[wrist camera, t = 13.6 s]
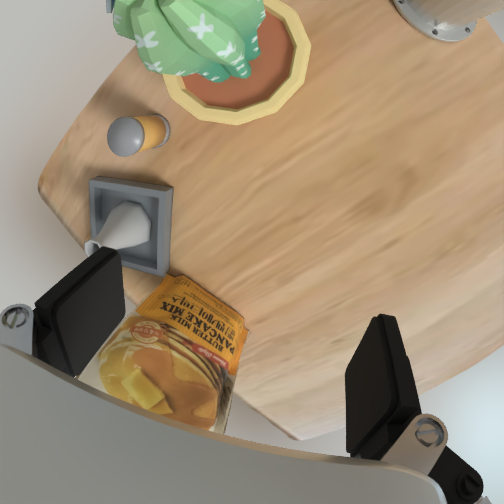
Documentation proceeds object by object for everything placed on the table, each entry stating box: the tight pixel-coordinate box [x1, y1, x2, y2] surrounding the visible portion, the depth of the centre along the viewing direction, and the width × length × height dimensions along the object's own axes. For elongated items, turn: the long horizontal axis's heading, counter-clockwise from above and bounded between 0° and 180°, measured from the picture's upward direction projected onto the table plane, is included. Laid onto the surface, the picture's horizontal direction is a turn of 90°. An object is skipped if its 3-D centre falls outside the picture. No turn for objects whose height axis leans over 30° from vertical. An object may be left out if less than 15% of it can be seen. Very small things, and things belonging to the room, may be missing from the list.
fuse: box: [107, 114, 170, 157], centre depth 34 cm, size 5×5×8 cm
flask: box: [84, 201, 151, 257], centre depth 39 cm, size 7×7×10 cm
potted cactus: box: [106, 0, 311, 126], centre depth 21 cm, size 15×16×25 cm
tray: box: [89, 176, 173, 277], centre depth 43 cm, size 13×13×2 cm
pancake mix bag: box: [75, 273, 251, 435], centre depth 36 cm, size 7×19×28 cm, turn 54°
